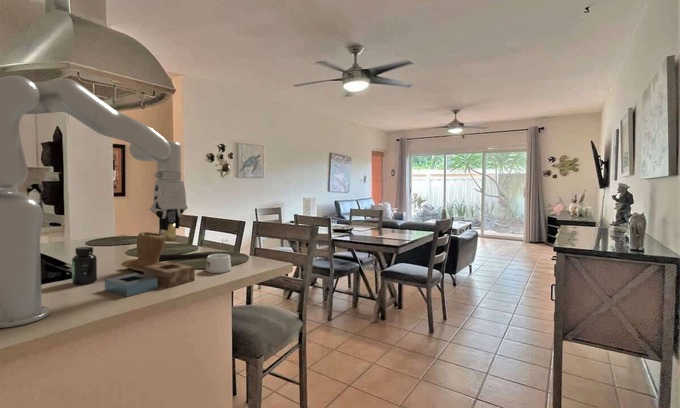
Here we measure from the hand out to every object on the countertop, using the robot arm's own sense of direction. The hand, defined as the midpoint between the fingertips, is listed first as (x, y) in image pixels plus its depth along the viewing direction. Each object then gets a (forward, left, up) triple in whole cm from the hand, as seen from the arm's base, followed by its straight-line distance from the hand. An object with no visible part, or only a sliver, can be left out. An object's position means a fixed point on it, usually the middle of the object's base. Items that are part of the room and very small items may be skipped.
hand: (169, 228), depth 125 cm
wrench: (+22, +22, -19) cm, 36 cm away
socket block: (-13, +1, -19) cm, 23 cm away
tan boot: (+5, +21, -19) cm, 28 cm away
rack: (0, 0, -19) cm, 19 cm away
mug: (+20, -2, -19) cm, 28 cm away
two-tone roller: (0, 0, -4) cm, 4 cm away
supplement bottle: (-17, +21, -19) cm, 33 cm away
